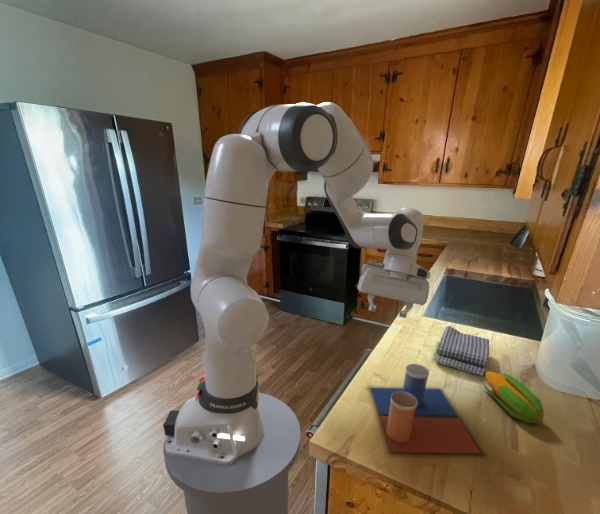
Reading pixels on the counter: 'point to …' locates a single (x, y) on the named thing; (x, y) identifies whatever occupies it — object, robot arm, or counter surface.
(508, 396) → the corn
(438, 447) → the terracotta mat
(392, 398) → the terracotta canister
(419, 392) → the blue canister
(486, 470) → the counter surface
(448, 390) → the counter surface
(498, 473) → the counter surface
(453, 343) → the towel
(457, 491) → the counter surface
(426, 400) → the blue mat
